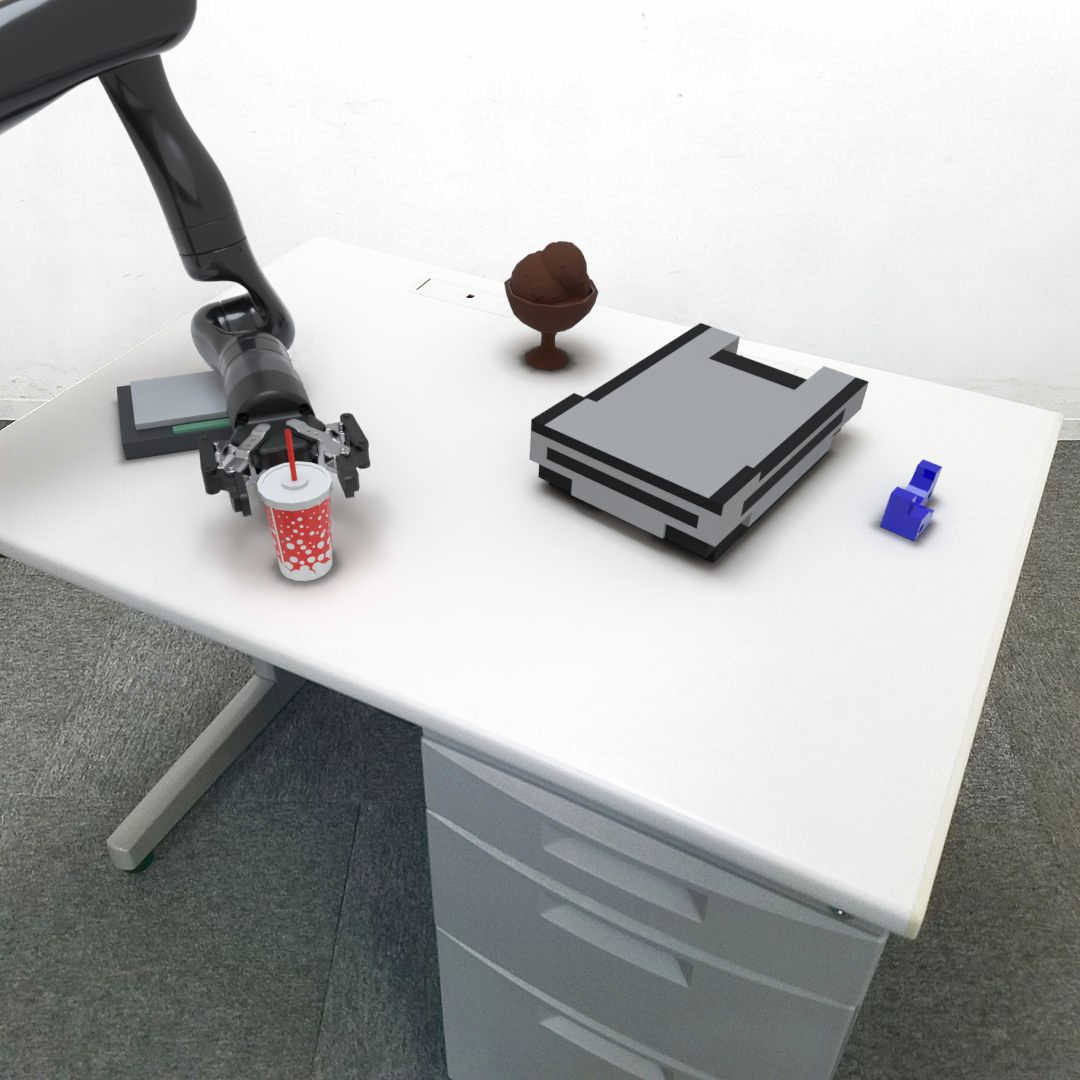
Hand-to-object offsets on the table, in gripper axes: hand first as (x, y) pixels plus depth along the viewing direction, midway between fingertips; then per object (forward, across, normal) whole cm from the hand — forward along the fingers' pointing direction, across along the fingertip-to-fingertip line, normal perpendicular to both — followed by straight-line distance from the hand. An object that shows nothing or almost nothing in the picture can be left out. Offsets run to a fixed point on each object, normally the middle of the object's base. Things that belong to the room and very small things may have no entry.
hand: (299, 498), depth 80 cm
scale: (-29, -6, +8) cm, 31 cm away
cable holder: (+10, +58, +8) cm, 59 cm away
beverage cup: (-1, 0, +8) cm, 8 cm away
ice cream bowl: (-31, +35, +8) cm, 47 cm away
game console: (-5, +42, +8) cm, 43 cm away
